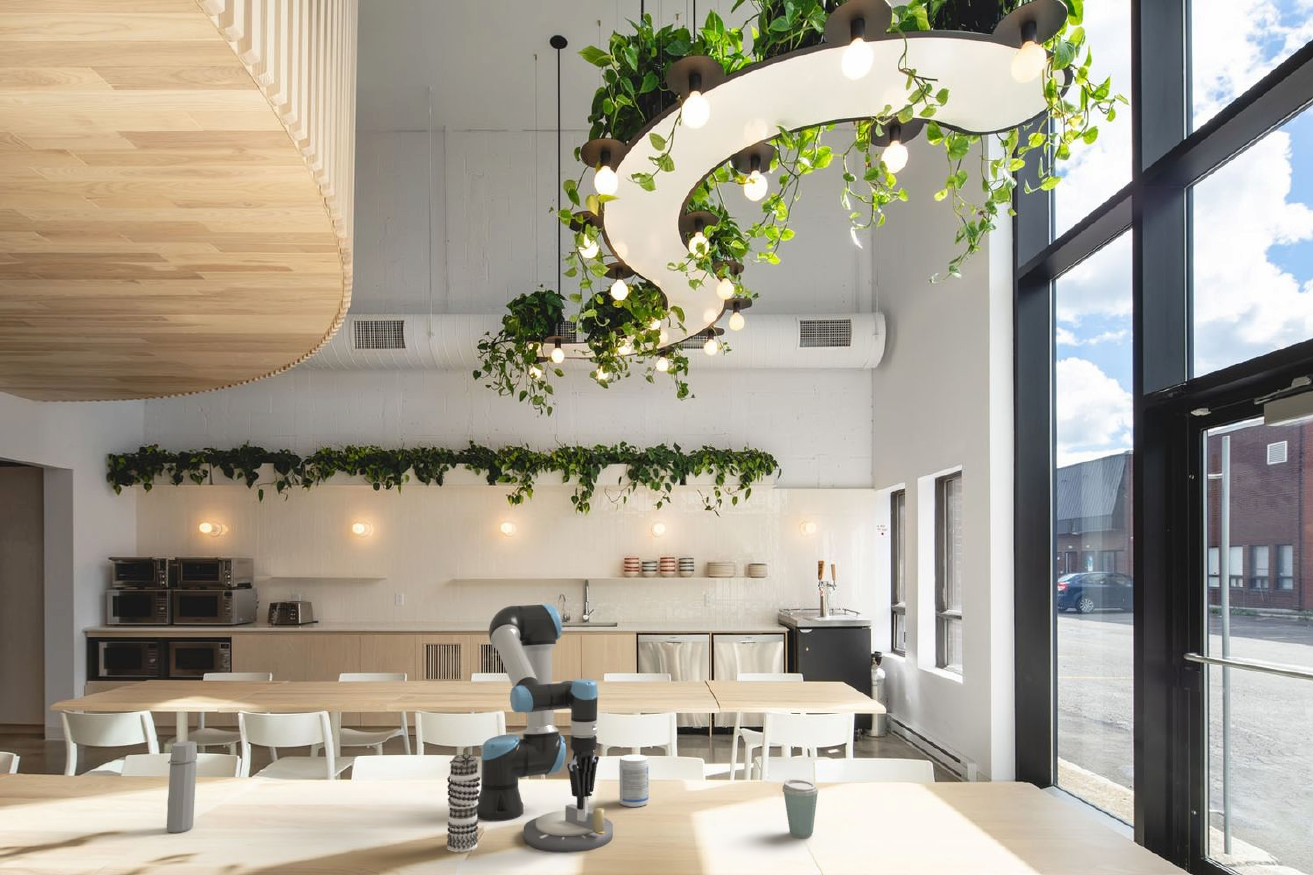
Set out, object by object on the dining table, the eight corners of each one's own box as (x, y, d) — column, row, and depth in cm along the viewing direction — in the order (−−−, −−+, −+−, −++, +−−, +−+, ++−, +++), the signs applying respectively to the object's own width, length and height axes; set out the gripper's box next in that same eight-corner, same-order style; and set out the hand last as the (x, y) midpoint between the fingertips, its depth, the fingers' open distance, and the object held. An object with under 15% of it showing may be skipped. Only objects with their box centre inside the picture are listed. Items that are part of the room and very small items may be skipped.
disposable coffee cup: (821, 831, 273) (821, 779, 275) (816, 842, 263) (815, 788, 265) (786, 827, 277) (786, 776, 278) (779, 838, 267) (778, 785, 268)
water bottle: (199, 827, 275) (204, 742, 278) (176, 835, 268) (181, 747, 271) (178, 823, 279) (183, 739, 282) (155, 830, 272) (160, 744, 275)
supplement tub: (654, 804, 299) (654, 758, 301) (629, 809, 294) (629, 762, 296) (638, 797, 308) (638, 752, 309) (613, 802, 302) (614, 756, 304)
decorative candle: (462, 854, 253) (465, 761, 255) (438, 848, 257) (441, 757, 260) (485, 845, 260) (487, 754, 263) (461, 839, 265) (463, 750, 268)
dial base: (504, 841, 264) (505, 829, 264) (560, 817, 286) (560, 806, 286) (577, 858, 250) (577, 845, 250) (629, 832, 272) (629, 820, 272)
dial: (522, 825, 268) (522, 800, 269) (571, 811, 281) (571, 787, 282) (576, 845, 251) (577, 818, 252) (626, 829, 265) (626, 803, 266)
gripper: (581, 740, 256) (580, 828, 254) (607, 732, 267) (605, 816, 265) (559, 737, 260) (558, 823, 257) (585, 729, 271) (584, 812, 268)
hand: (582, 819), depth 261 cm, fingers closed
